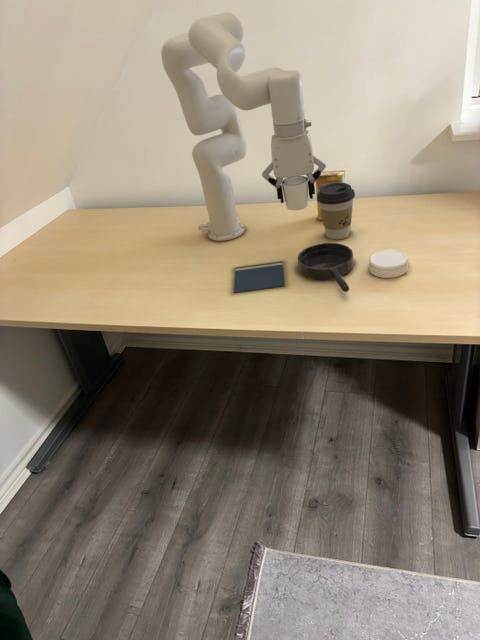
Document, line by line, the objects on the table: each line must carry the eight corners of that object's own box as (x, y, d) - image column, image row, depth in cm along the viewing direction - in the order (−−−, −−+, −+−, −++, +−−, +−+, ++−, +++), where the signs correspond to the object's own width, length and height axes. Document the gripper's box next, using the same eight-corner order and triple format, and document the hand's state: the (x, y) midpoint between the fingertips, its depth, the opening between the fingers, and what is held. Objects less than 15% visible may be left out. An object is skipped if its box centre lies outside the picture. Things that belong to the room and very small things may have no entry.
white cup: (308, 198, 133) (305, 173, 129) (312, 208, 128) (310, 182, 124) (282, 203, 133) (279, 177, 129) (286, 213, 128) (283, 187, 124)
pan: (300, 283, 135) (299, 272, 133) (296, 257, 148) (295, 247, 146) (357, 276, 134) (357, 265, 132) (348, 250, 146) (348, 239, 144)
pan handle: (329, 272, 133) (329, 266, 132) (336, 271, 134) (335, 265, 133) (343, 293, 124) (342, 287, 123) (350, 292, 124) (350, 286, 123)
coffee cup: (339, 246, 149) (337, 198, 141) (312, 237, 157) (307, 191, 148) (364, 231, 154) (363, 184, 146) (336, 223, 162) (333, 178, 154)
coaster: (392, 256, 139) (392, 245, 137) (415, 270, 131) (416, 259, 129) (361, 267, 137) (361, 256, 135) (383, 283, 129) (383, 271, 127)
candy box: (318, 220, 166) (314, 175, 158) (320, 215, 169) (317, 171, 161) (344, 220, 163) (342, 174, 154) (347, 214, 166) (344, 169, 158)
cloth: (234, 293, 137) (233, 292, 137) (235, 268, 149) (235, 267, 148) (284, 286, 135) (284, 285, 135) (282, 262, 147) (282, 261, 147)
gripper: (323, 118, 122) (328, 188, 132) (253, 130, 123) (262, 198, 133) (328, 127, 115) (332, 199, 126) (253, 139, 117) (263, 209, 127)
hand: (296, 198), depth 129 cm, fingers closed on white cup, 6 cm apart
